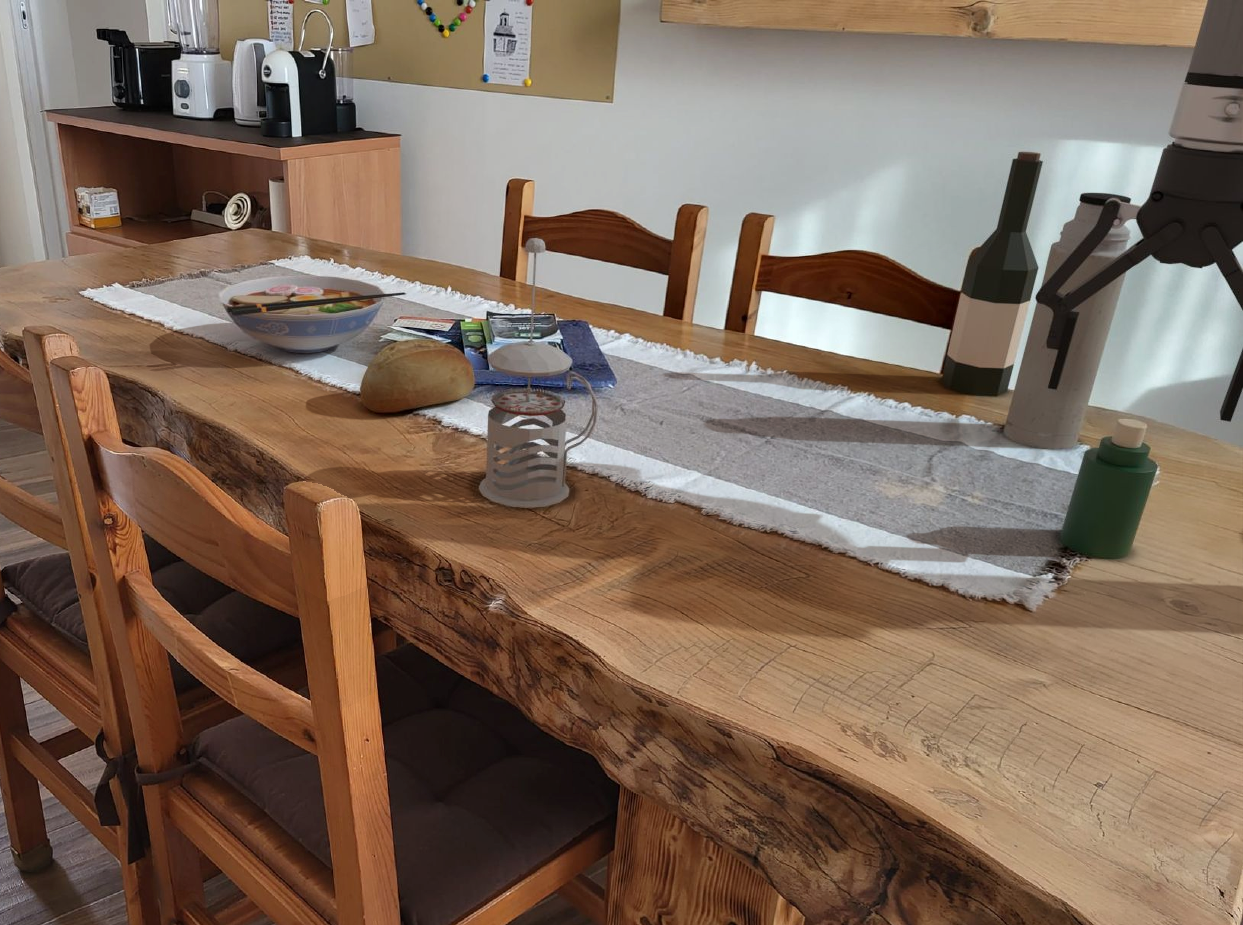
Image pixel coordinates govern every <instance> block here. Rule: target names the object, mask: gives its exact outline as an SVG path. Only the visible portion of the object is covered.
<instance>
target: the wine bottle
mask: <svg viewBox="0 0 1243 925" xmlns="http://www.w3.org/2000/svg"><path fill="white" fill-rule="evenodd" d="M1040 158H1041V153H1039V152H1034V151H1018V153H1017V157H1016V158H1012V160H1011V165H1010V169H1009V173H1008V179H1007V183H1006V187H1005V191H1004V195H1003V200H1002V203H1001V208H1000V214H999V216H998V217H999V218H998V220H997V226H996V228H995V229H994V231H993V232H992V233H991V234H990V235H989V237H988V238H987V239H985V241H984V242H983V243H982V244H981V245H980V246H979V247H978V248H977V250H975V252H974V253H973V254H972V255H971V256H970V257H969V259H968V260H967V264H966V269H965V273H964V278H963V281H962V286H961V292H960V294H959V300H958V304H957V309H956V312H955V317H954V323H953V327H952V331H951V336H950V340H949V344H948V349H947V353H946V357H945V363H944V367H943V371H942V374H941V375H942V376H941V380H940V383H941V384H942V385H943V386H945V387H946V389H948V390H950V391H954V392H957V393H960V394H965V395H969V396H971V397H972V396H973V397H974V396H975V397H995V398H996V397H1000V396H1001V395H1004V394H1006V393H1007V392H1008V390H1009V386H1010V382H1011V378H1012V375H1013V370H1014V366H1015V363H1016V362H1015V361H1016V359H1017V354H1018V351H1019V347H1020V342H1021V338H1022V334H1023V330H1024V327H1025V322H1026V320H1027V316H1028V310H1029V307H1030V303H1031V299H1032V295H1033V291H1034V287H1035V284H1036V280H1037V276H1038V271H1039V265H1038V262H1037V259H1036V256H1035V253H1034V251H1033V248H1032V245H1031V243H1030V239H1029V237H1028V234H1027V228H1028V224H1029V221H1030V216H1031V213H1032V208H1033V204H1034V199H1035V195H1036V192H1037V188H1038V184H1039V179H1040V176H1041V175H1040V174H1041V170H1042V168H1043V163H1044V161H1043V160H1040Z"/></svg>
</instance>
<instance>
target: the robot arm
mask: <svg viewBox="0 0 1243 925" xmlns="http://www.w3.org/2000/svg"><path fill="white" fill-rule="evenodd" d="M1168 135H1169V136H1170V137H1171V138H1173V139H1174V140H1173V141H1172V143H1170V144H1167V145H1166V147H1163V149H1162V152H1161V155H1160V159H1159V163H1158V165H1157V168H1156V172H1155V176H1154V179H1153V181H1152V186H1151V189H1150V192H1149V195H1148V198H1147V199H1146V201H1144V203H1143V204H1142V205H1138V204H1134V203H1130V204H1129V203H1125V202H1121V201H1120V199H1119V198H1116V197H1113V198H1110V199H1109V200H1107V202H1106V203H1105V205H1104V207H1103V209H1102V212H1101V214H1100V217H1099V219H1098V221H1097V224H1096V225H1095V226H1094V227H1093V229H1092V230H1091V231H1090V232H1089V233H1088V234H1087V235H1086V237H1085V238H1084V239H1083V240H1082V241H1081V242H1080V243H1079V245H1078V246H1077V247H1076V248H1075V249H1074V250H1073V251H1072V253H1071V254H1070V255H1069V256H1068V257H1067V258H1066V260H1065V261H1064V262H1063V263H1062V264H1061V265H1060V266H1059V268H1058V269H1057V270H1056V271H1055V272H1054V273H1053V274H1052V276H1051V277H1050V278H1049V279H1048V280H1047V281H1046V282H1045V284H1044V285H1043V286H1042V285H1041V286H1042V287H1041V286H1040V287H1039V289H1038V291H1037V293H1036V295H1035V302H1036V303H1037V302H1038V303H1040V304H1044V305H1046V306H1047V307H1049V308H1051V309H1052V311H1053V319H1052V323H1051V326H1050V330H1049V333H1048V337H1047V341H1046V345H1047V348H1049V349H1055V350H1058V353H1057V356H1056V360H1055V363H1054V367H1053V370H1052V374H1051V378H1050V381H1049V385H1048V388H1049V389H1055V390H1057V387H1058V385H1059V383H1060V379H1061V376H1062V372H1063V369H1064V365H1065V362H1066V358H1067V355H1068V351H1069V348H1070V344H1071V341H1072V337H1073V334H1074V330H1075V327H1076V323H1077V320H1078V316H1079V313H1080V312H1075V311H1071V310H1073V309H1074V308H1075V307H1077V306H1078V305H1080V304H1081V303H1083V302H1084V301H1085V300H1087V299H1088V298H1090V297H1091V296H1092V295H1094V294H1095V293H1097V292H1098V291H1099V290H1101V289H1102V288H1104V287H1105V286H1107V285H1108V284H1109V283H1111V282H1112V281H1114V280H1115V279H1116V278H1118V277H1119V276H1121V275H1122V274H1124V273H1125V272H1126V271H1127V272H1128V271H1130V270H1131V269H1132V268H1134V267H1135V266H1137V265H1139V264H1140V263H1142V262H1143V261H1145V260H1146V259H1148V257H1150V256H1151V257H1152V258H1153V259H1154V260H1156V261H1157V262H1159V264H1166V265H1176V264H1177V265H1178V264H1182V265H1185V266H1187V267H1189V268H1194V269H1195V268H1196V269H1203V268H1205V267H1210V266H1212V265H1214V264H1216V266H1217V268H1218V269H1219V271H1220V273H1221V275H1222V276H1223V278H1224V279H1225V281H1226V283H1227V285H1228V287H1229V289H1230V291H1231V293H1232V294H1233V296H1234V298H1235V299H1236V301H1237V303H1238V305H1239V307H1240V308H1241V310H1242V311H1243V268H1242V265H1241V263H1240V261H1239V259H1238V258H1237V256H1236V254H1235V253H1234V251H1233V250H1234V249H1235V248H1237V247H1238V246H1239V245H1241V244H1242V243H1243V0H1207V3H1206V5H1205V9H1204V12H1203V15H1202V20H1201V23H1200V26H1199V30H1198V34H1197V37H1196V40H1195V44H1194V48H1193V51H1192V56H1191V58H1190V63H1189V66H1188V69H1187V72H1186V76H1185V79H1184V82H1183V83H1182V85H1181V88H1180V92H1179V96H1178V98H1177V103H1176V105H1175V108H1174V113H1173V116H1172V120H1171V123H1170V126H1169V130H1168ZM1130 220H1135V221H1136V224H1137V227H1138V229H1139V231H1140V234H1141V236H1142V238H1141V239H1139V240H1138V241H1137V242H1135V243H1134V244H1132V245H1131V246H1130V247H1129V248H1127V251H1125V252H1124V253H1122V254H1121V255H1120V256H1118V257H1117V258H1116V259H1114V260H1113V261H1111V262H1110V263H1109V264H1107V265H1106V266H1104V267H1103V268H1102V269H1100V270H1099V271H1097V272H1096V273H1095V274H1093V275H1092V276H1091V277H1089V278H1088V279H1086V280H1085V281H1084V282H1082V283H1081V284H1079V285H1078V286H1077V287H1075V288H1074V289H1072V290H1071V291H1070V292H1068V293H1067V294H1066V295H1063V294H1061V293H1059V292H1057V291H1058V290H1059V289H1060V288H1061V287H1062V286H1063V285H1064V283H1065V282H1066V281H1067V280H1068V279H1069V278H1070V277H1071V275H1072V274H1073V273H1074V272H1075V271H1076V270H1077V269H1078V268H1079V266H1080V265H1081V264H1082V263H1083V262H1084V261H1085V260H1086V259H1087V257H1088V256H1089V255H1090V254H1091V253H1092V252H1093V251H1094V249H1095V248H1096V247H1097V246H1098V245H1099V244H1100V243H1101V242H1102V240H1103V239H1104V238H1105V237H1106V236H1107V234H1108V233H1109V231H1110V229H1111V228H1114V229H1118V228H1121V227H1122V226H1123V225H1125V224H1126V223H1127V222H1128V221H1130ZM1127 272H1126V273H1127ZM1242 392H1243V348H1241V352H1240V355H1239V358H1238V360H1237V362H1236V366H1235V369H1234V371H1233V374H1232V376H1231V379H1230V383H1229V384H1228V388H1227V390H1226V394H1225V396H1224V399H1223V402H1222V405H1221V408H1220V411H1219V415H1220V416H1219V420H1220V421H1225V422H1230V423H1231V422H1232V419H1233V417H1234V415H1235V411H1236V408H1237V405H1238V403H1239V401H1240V398H1241V394H1242Z"/></svg>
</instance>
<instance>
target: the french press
mask: <svg viewBox="0 0 1243 925" xmlns="http://www.w3.org/2000/svg"><path fill="white" fill-rule="evenodd" d="M524 247H525V248H524V251H525V252H526V253H531V254H533V271H532V272H533V273H532V293H531V312H530V313H531V314H530V334H529V340H522V341H517V342H511V343H508V344H505V345H502V346H499V348H497V349H495V350H493V351H492V352H490V353H489V355H488V357H487V362H488V363H489V366H490V367H491V368H492V369H494V370H496V371H497V372H500V373H502V374H507V375H511V376H515V377H516V376H517V377H527V378H528V380H527V387H526V388H525V387H523V388H522V387H521V388H520V387H516V388H515V387H514V388H508V389H505V390H504V389H503V390H502V391H498V392H496V393H494V394H493V395H492V397H491V399H490V401H491V403H492V404H493V406H494V407H492V408H491V409H490V410H488V413H487V437H486V464H485V466H486V470H485V471H486V472H485V478H483V480H481V481H480V484H479V486H478V491H479V492H480V493H481V495H482V496H483V497H484V498H486V499H488V500H489V501H491V502H493V503H496V504H500V505H503V506H507V507H513V508H527V509H530V508H542V507H543V508H544V507H545V508H546V507H548V506H549V507H550V506H552V505H555V504H558V503H561V502H563V501H564V500H565V499H566V498H568V497H569V494H570V490H571V489H570V487H569V486H568V485H567V484H566V472H567V456H568V452H569V451H570V450H572V449H574V448H577V447H578V446H580V445H582V444H583V443H584V442H585V441H586V440H587V439H588V438H590V436H591V434H592V433H593V431H594V429H595V427H596V424H597V421H598V410H599V409H598V408H599V406H598V400H597V396H596V395H595V393H594V390H593V389H592V387H591V383H589V381H587V379H586V378H585V377H583V376H582V375H580V374H578V373H577V372H576V371H569V370H570V368H571V366H572V364H573V359H572V358H571V357H570V356H569V355H568V354H567V353H566V352H564V350H562V349H560V348H557V347H555V346H553V345H551V344H549V343H547V342H543V341H534V340H533V334H534V312H535V295H536V294H535V292H536V291H535V290H536V273H537V272H536V270H537V269H536V268H537V254H542V253H546V242H545V241H544V240H543V239H542V238H537V237H532V238H529V239H527V241H526V243H525V246H524ZM567 371H568V372H567ZM565 372H567V374H566V378H565V379H566V380H565V381H566V384H565V385H566V388H567V390H568V391H570V390H571V389H572V381H577V382H579V383H581V384H582V385H584V386H585V388H586V389H587V390H588V391H589V393H590V395H591V400H592V402H591V403H592V406H591V408H592V409H591V415H590V418H589V420H588V422H587V424H586V426H585V427H584V430H583V431H581V432H579V434H577V435H575V436H574V437H571V438H570V439H569V438H568V439H567V440H566V434H567V433H566V432H567V421H568V420H567V419H568V418H567V414H566V413H565V411H564V410H563V409H564V407H565V405H566V404H565V403H566V400H565V399H564V398H563V397H562V395H560V394H558V393H555V392H553V391H551V390H547V389H546V390H544V389H542V390H541V388H536V389H535V388H532V387H531V378H538V377H539V378H540V377H552V376H557V375H561V374H563V373H565ZM571 375H573V376H571ZM570 376H571V377H570ZM519 416H525V417H526V416H527V417H531V418H524V419H520V420H519V421H516V422H514V423H512V424H511V425H505V424H507V423H508V422H510V421H511V420H513V419H515V418H517V417H519ZM538 416H544V417H546V418H547V419H548V420H550V421H551V422H552V423H551V424H552V425H550V424H549V423H547V422H546V421H543V420H541V419H537V418H535V417H538ZM591 424H592V425H591ZM532 425H534V426H537V427H540V428H525V427H527V426H532ZM590 426H591V427H590ZM522 427H524V428H522ZM589 428H590V429H589ZM588 430H589V431H588ZM587 432H588V433H587ZM585 433H587V435H586V436H585V437H584V438H582V439H581V440H580V441H578V442H576V443H574V444H572V445H569V446H568V447H567V448H566V446H567V445H568V444H570V443H572V442H574V441H576V440H578V439H579V438H581V437H582V436H583V435H584V434H585ZM537 440H542V441H544V442H545V443H547V444H541V443H538V442H535V441H537ZM504 448H509V449H508V450H506V451H504V452H502V453H500V452H499V451H500V450H502V449H504ZM540 452H541V453H543V454H545V455H546V456H548V457H544V456H542V455H538V454H536V453H540ZM500 461H505V463H503V464H501V465H500V464H499V462H500Z"/></svg>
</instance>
